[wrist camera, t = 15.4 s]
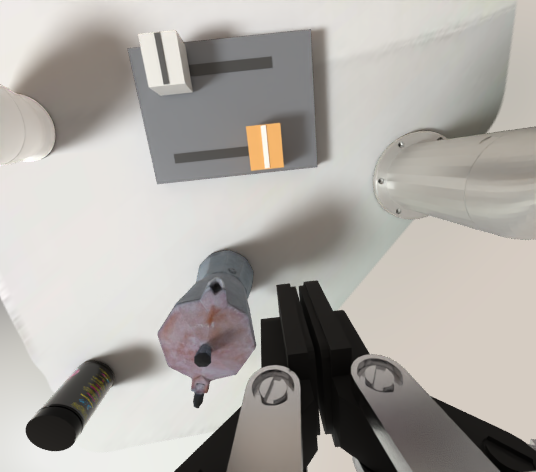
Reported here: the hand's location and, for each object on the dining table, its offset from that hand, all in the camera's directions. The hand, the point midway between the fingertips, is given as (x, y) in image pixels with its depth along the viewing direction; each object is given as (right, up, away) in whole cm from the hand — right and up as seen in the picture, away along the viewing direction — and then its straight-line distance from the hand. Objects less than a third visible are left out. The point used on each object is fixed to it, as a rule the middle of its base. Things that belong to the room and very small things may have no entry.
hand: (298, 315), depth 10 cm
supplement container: (-32, -22, +35) cm, 52 cm away
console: (-6, +20, +24) cm, 32 cm away
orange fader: (-2, +15, +23) cm, 27 cm away
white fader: (-13, +23, +20) cm, 33 cm away
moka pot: (-8, -3, +31) cm, 32 cm away
